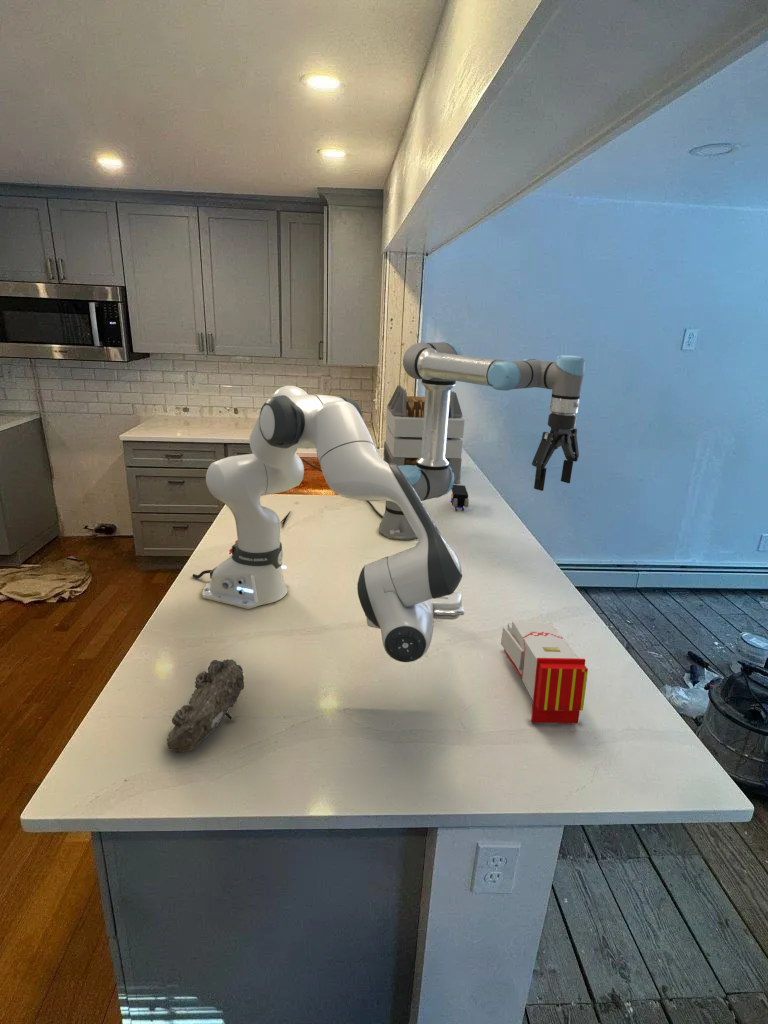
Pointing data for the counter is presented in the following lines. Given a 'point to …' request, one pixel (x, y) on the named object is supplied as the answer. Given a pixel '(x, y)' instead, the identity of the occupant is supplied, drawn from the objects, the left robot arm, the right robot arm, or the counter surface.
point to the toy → (547, 670)
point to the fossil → (206, 705)
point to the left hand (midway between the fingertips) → (414, 591)
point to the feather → (285, 518)
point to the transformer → (419, 431)
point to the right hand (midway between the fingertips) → (552, 485)
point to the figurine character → (459, 497)
